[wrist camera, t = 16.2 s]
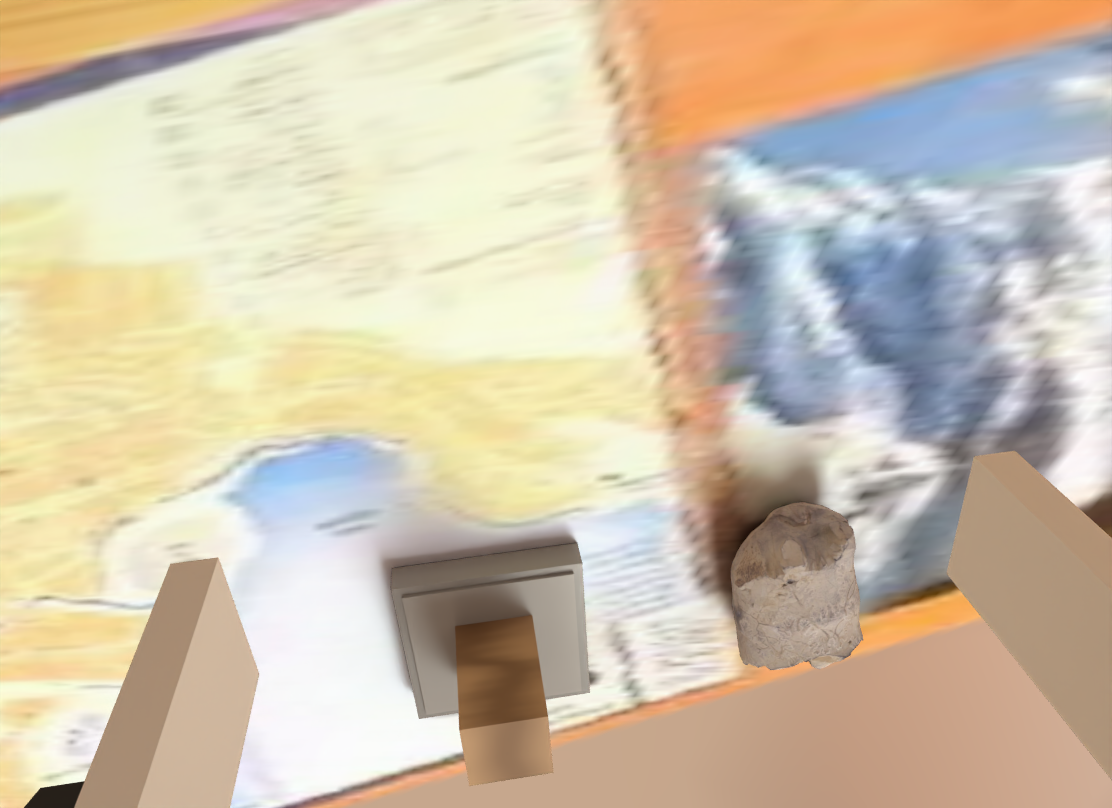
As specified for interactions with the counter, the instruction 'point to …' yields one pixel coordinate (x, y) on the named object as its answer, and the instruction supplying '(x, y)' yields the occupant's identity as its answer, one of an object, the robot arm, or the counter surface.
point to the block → (501, 701)
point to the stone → (796, 589)
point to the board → (492, 617)
